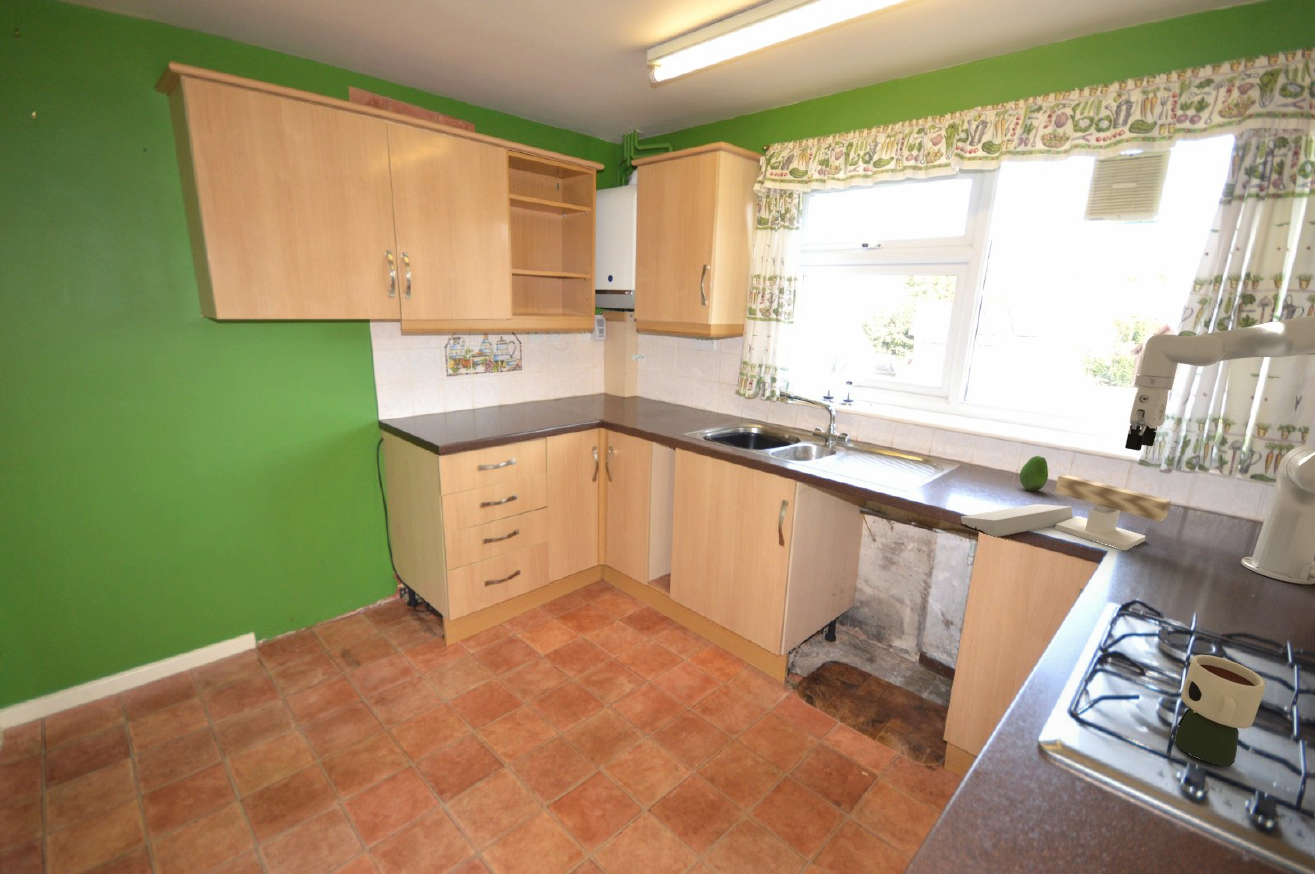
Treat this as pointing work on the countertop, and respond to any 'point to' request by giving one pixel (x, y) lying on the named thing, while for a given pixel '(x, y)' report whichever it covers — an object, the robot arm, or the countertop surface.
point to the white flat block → (1018, 519)
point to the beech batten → (1113, 497)
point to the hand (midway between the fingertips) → (1139, 447)
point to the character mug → (1217, 707)
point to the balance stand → (1101, 528)
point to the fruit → (1034, 474)
